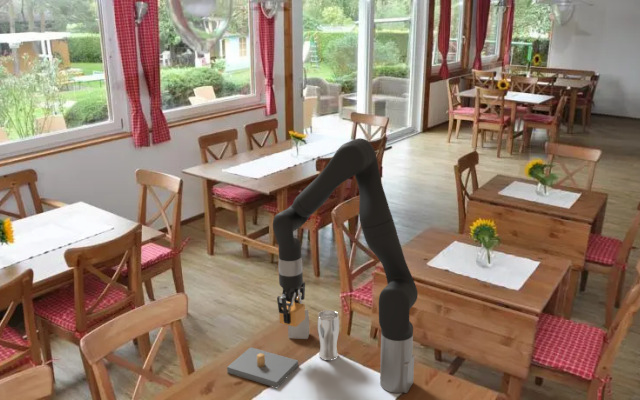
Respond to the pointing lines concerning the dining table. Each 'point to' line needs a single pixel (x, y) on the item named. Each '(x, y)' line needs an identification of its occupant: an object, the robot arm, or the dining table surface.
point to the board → (263, 367)
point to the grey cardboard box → (300, 329)
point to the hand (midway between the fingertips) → (292, 318)
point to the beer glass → (328, 333)
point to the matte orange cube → (295, 314)
